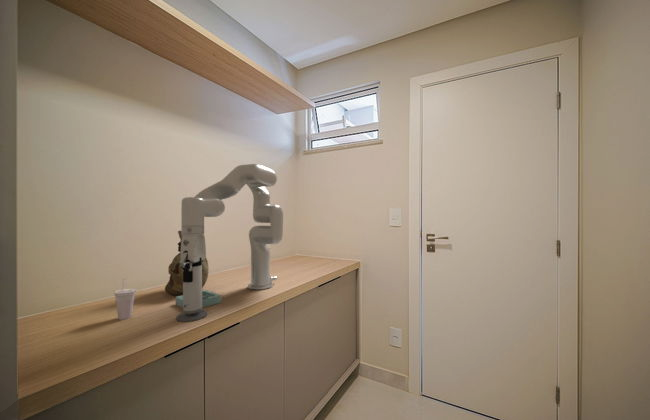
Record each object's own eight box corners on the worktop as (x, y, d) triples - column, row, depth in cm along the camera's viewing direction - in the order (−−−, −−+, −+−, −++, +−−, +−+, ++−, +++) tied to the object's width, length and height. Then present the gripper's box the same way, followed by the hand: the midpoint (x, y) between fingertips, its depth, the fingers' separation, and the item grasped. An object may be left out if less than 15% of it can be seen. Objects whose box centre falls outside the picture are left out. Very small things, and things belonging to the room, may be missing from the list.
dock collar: (206, 296, 118) (206, 287, 118) (221, 302, 109) (221, 292, 110) (175, 304, 108) (175, 294, 108) (189, 311, 99) (189, 300, 100)
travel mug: (183, 316, 90) (182, 258, 90) (183, 309, 96) (182, 256, 96) (202, 312, 93) (202, 257, 93) (201, 306, 99) (201, 254, 99)
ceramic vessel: (159, 300, 113) (160, 231, 114) (168, 288, 132) (169, 229, 133) (207, 295, 120) (207, 230, 121) (209, 284, 140) (209, 228, 140)
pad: (200, 309, 101) (200, 307, 101) (212, 315, 95) (212, 313, 95) (172, 317, 93) (172, 315, 94) (183, 324, 87) (183, 322, 87)
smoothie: (117, 315, 95) (117, 277, 95) (138, 313, 98) (138, 276, 98) (110, 322, 89) (111, 281, 90) (133, 319, 92) (133, 279, 92)
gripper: (191, 232, 86) (191, 286, 86) (213, 229, 104) (213, 274, 103) (168, 232, 86) (168, 286, 86) (194, 229, 104) (194, 274, 103)
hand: (193, 279), depth 95 cm, fingers closed on travel mug, 6 cm apart
